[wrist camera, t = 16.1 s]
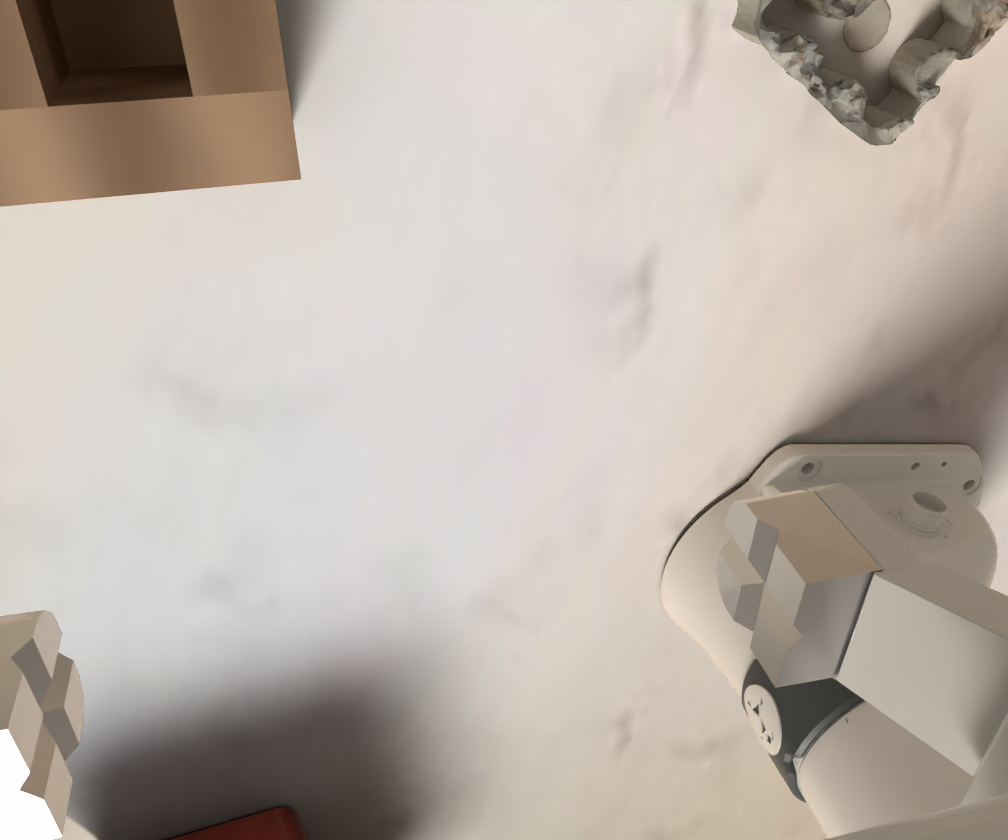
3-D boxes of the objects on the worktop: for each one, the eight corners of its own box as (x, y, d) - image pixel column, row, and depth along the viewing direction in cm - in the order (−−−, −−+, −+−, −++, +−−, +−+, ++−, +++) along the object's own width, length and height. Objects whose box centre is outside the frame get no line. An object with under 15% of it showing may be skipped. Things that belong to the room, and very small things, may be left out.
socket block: (245, -184, 28) (248, -184, 23) (291, 127, 34) (301, 179, 29) (-96, -183, 26) (-170, -182, 21) (15, 149, 32) (-23, 208, 27)
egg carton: (965, -1, 38) (1034, 17, 35) (845, 143, 41) (899, 172, 38) (826, -173, 33) (893, -171, 29) (698, 6, 35) (747, 26, 32)
